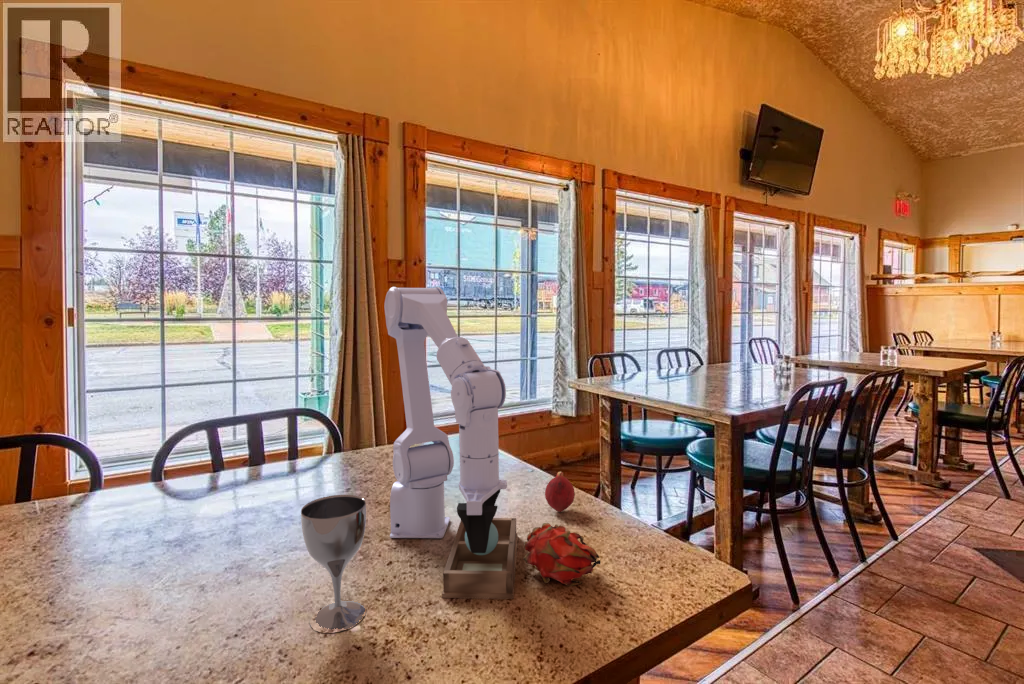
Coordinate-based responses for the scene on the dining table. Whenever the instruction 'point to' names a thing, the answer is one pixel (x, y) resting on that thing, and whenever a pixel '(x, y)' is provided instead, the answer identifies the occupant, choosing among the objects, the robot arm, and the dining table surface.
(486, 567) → the divided wooden tray
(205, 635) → the dining table surface
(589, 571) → the dragon fruit
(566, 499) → the onion
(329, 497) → the wine glass
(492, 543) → the ball
